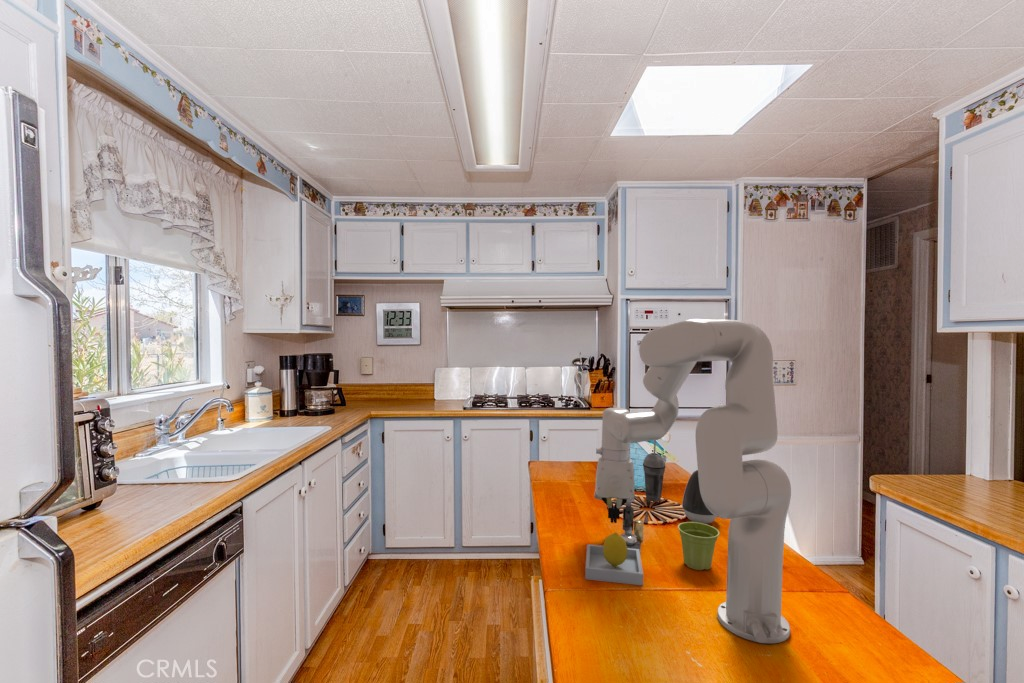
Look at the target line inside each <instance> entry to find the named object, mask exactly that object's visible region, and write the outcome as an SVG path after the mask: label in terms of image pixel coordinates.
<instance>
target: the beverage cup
mask: <svg viewBox="0 0 1024 683" xmlns="http://www.w3.org/2000/svg"><path fill="white" fill-rule="evenodd" d="M656 441H657V440H654V441H653V452H651V453H648V454H647V455H646V456H645V457H644V459H643V463H642V467H643V472H644V488H645V489H644V490H645V499H647V500H649V501H653V502H657V501H660V502H661V499H662V491H663V484H664V476H665V475H664V474H665V471H666V461H665V460H664V458H663V456H661V455H660V454H659V453H656V446H657V445H656ZM647 500H646V501H647ZM649 501H648V502H649ZM653 502H652V503H653Z"/></svg>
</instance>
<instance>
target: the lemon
mask: <svg viewBox="0 0 1024 683" xmlns="http://www.w3.org/2000/svg"><path fill="white" fill-rule="evenodd" d="M602 546H603V553H604V557H605V559H606V561H607V562H608V563H610V564H612V565H613V567H616V566H618V565H620V564H622V563H623V562H624V561H625V559H626V557H627V545H626V542H625V540H624V538H623V537H622V536H621V534H619V533H617V532H613V533H611V534H609V535H607V537H605V540H604V542H603V545H602Z"/></svg>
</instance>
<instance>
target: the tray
mask: <svg viewBox="0 0 1024 683" xmlns="http://www.w3.org/2000/svg"><path fill="white" fill-rule="evenodd" d="M603 546H604V545H600V544H589V543H587V544H586V556H585V557H586V558H585V572H584V573H585V576H584V579H585V580H588V581H589V580H591V581H598V582H609V583H618V584H625V585H634V586H644V571H643V570H644V569H643V565H642V559H641V553H640V551H639V549H633V548H627V557H626V559H625V561H624V562H623V563H622V564H620V565H618V566H616V567H613V565H612V564H610V563H608V562H607V561H606V559H605V557H604V553H603Z"/></svg>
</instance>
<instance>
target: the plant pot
mask: <svg viewBox="0 0 1024 683" xmlns="http://www.w3.org/2000/svg"><path fill="white" fill-rule="evenodd" d="M677 530H678V531H679V535H680V538H681V539H680V540H681V546H682V549H681V550H682V556H683V557H682V558H683V563H684V565H686V566H687V567H688V568H690V569H693V570H695V571H696V570H697V571H703V570H706V571H708V570H710V569H711V568H712V563H713V557H714V551H715V548H716V543H717V540H718V538H719V536H720V530H719V529H718V528H716V527H714V526H711V525H710V524H703V523H698V522H693V521H686V522H681V523H678V525H677Z"/></svg>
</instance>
